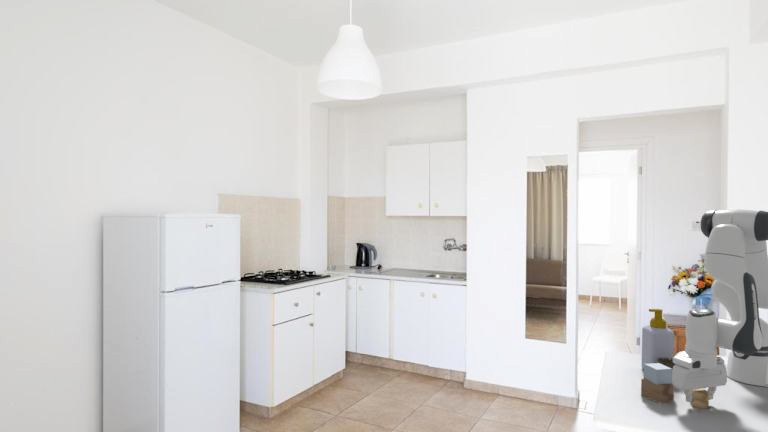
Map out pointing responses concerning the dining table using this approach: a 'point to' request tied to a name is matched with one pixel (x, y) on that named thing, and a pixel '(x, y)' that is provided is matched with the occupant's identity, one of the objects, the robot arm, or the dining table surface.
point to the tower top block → (658, 373)
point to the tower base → (657, 391)
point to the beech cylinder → (700, 398)
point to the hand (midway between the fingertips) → (699, 400)
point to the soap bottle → (657, 340)
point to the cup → (666, 362)
